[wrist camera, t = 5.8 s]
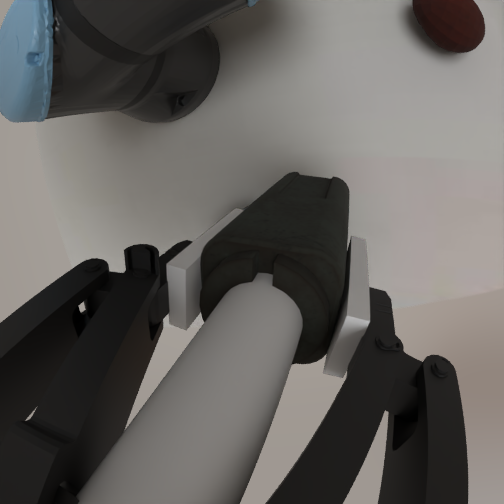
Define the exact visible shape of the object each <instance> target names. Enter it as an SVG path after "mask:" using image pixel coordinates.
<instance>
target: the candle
mask: <svg viewBox="0 0 504 504" xmlns="http://www.w3.org/2000/svg"><path fill="white" fill-rule="evenodd" d="M348 219H349V189H348V186H347V184H346V183H345V182H344V181H343V180H342V179H340V178H337V177H332V179H328V178H321V177H313V176H304V175H300V174H299V173H298V172H292V173H289V174H287V175H285V176H284V177H283V178H282V179H281V180H279V181H278V182H277V183H276V184H275V185H273V186H272V187H271V188H270V189H269V190H267V191H266V192H265V193H264V194H263V195H261V196H260V197H259V198H258V199H257V200H256V201H254V202H253V203H252V204H251V205H250V206H248V207H247V208H246V209H245V210H244V211H243V212H241V213H240V214H239V215H238V216H237V217H236V218H235V219H233V220H232V221H231V222H230V223H229V224H228V225H226V226H225V227H224V228H223V229H222V230H221V231H220V232H218V233H217V234H216V235H215V236H214V237H213V238H212V239H210V240H209V241H208V242H207V244H206V245H205V246H204V248H203V250H202V253H201V261H200V267H201V281H202V289H201V291H200V303H199V306H200V310H201V314H202V319H203V320H204V322H205V323H204V324H203V325H202V327H201V328H200V329H199V331H198V332H197V334H196V335H195V336H194V338H193V339H192V340H191V342H190V343H189V344H188V346H187V347H186V348H185V350H184V351H183V352H182V354H181V355H180V357H179V358H178V359H177V361H176V362H175V363H174V365H173V366H172V368H171V369H170V370H169V372H168V373H167V375H166V376H165V377H164V378H163V380H162V381H161V382H160V384H159V385H158V387H157V388H156V389H155V391H154V392H153V393H152V395H151V396H150V397H149V399H148V400H147V401H146V403H145V404H144V405H143V407H142V408H141V410H140V411H139V412H138V414H137V415H136V416H135V418H134V419H133V420H132V422H131V423H130V424H129V426H128V427H127V428H126V430H125V431H124V432H123V434H122V435H121V436H120V438H119V439H118V441H117V442H116V443H115V445H114V446H113V447H112V449H111V450H110V451H109V453H108V454H107V455H106V457H105V458H104V459H103V461H102V462H101V463H100V465H99V466H98V467H97V469H96V470H95V471H94V473H93V474H92V476H91V477H90V478H89V480H88V481H87V482H86V484H85V485H84V486H83V488H82V489H81V490H80V492H79V493H78V494H77V496H76V498H77V499H78V500H79V503H78V504H240V502H241V499H242V497H243V495H244V492H245V490H246V488H247V485H248V483H249V481H250V478H251V476H252V473H253V471H254V468H255V466H256V463H257V460H258V458H259V455H260V453H261V450H262V448H263V445H264V443H265V440H266V437H267V434H268V432H269V429H270V426H271V424H272V421H273V418H274V415H275V412H276V409H277V407H278V404H279V401H280V398H281V395H282V392H283V389H284V386H285V383H286V380H287V377H288V374H289V370H290V368H291V365H292V364H296V363H297V364H310V363H313V362H317V361H318V360H320V359H322V358H323V357H324V356H325V355H326V354H327V351H328V349H329V346H330V343H331V340H332V336H333V332H334V328H335V324H336V320H337V316H338V311H339V307H340V302H341V298H342V293H343V289H344V280H345V268H346V255H347V239H348Z"/></svg>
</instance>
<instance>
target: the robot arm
mask: <svg viewBox="0 0 504 504" xmlns="http://www.w3.org/2000/svg"><path fill="white" fill-rule="evenodd" d="M257 1H259V0H15V1H14V2H13V4H12V5H11V7H10V9H9V10H8V12H7V14H6V17H5V19H4V21H3V24H2V26H1V29H0V112H1V114H2V115H3V116H5V118H7V119H8V120H9V121H11V122H32V121H37V122H41V121H44V120H45V119H49V118H56V117H62V116H69V115H77V114H85V113H95V112H105V111H120V112H122V113H125V114H127V115H129V116H131V117H134V118H136V119H138V120H141V121H146V122H168V121H173V120H176V119H179V118H181V117H184V116H186V115H187V114H189V113H190V112H192V111H193V110H194V109H196V108H197V107H198V106H199V105H200V104H201V103H202V102H203V100H204V99H205V98H206V97H207V95H208V94H209V92H210V90H211V89H212V87H213V85H214V82H215V80H216V77H217V73H218V69H219V58H220V57H219V48H218V44H217V41H216V39H215V37H214V35H213V33H212V32H211V30H210V29H209V28H208V27H207V25H208V24H210V23H212V22H214V21H216V20H218V19H220V18H222V17H224V16H226V15H229V14H231V13H233V12H235V11H237V10H239V9H242V8H244V7H246V6H248V7H251V6H253V5H255V4H256V2H257ZM243 211H244V210H242V209H238V208H235V209H234V210H233V211H231V212H230V213H229V214H227V215H226V216H225V217H224V218H222V219H221V220H220V221H219V222H217V223H216V224H215V225H214V226H212V227H211V228H210V229H209V230H207V231H206V232H205V233H204V234H202V235H201V236H200V237H199V238H197V239H196V240H195V241H194V242H192V241H188V240H185V241H182V242H180V243H177V244H176V245H174V246H173V247H172V248H170V249H169V250H168V251H166V252H165V254H163V255H161V256H160V257H159V251H158V249H157V248H156V247H154V246H152V245H148V244H138V245H133V246H130V247H128V248H126V249H125V250H124V255H125V265H126V271H125V272H124V273H118V272H109V266H108V263H107V262H106V261H105V260H103V259H98V258H95V259H94V258H93V259H89V260H86V261H84V262H82V263H80V264H79V265H77V266H76V267H74V268H73V269H71V270H70V271H68V272H67V273H66V274H64V275H63V276H61V277H60V278H59V279H57V280H56V281H55V282H53V283H52V284H50V285H49V286H48V287H46V288H45V289H43V290H42V291H41V292H40V293H38V294H37V295H35V296H34V297H33V298H31V299H30V300H29V301H28V302H26V303H25V304H24V305H22V306H21V307H20V308H18V309H17V310H16V311H15V312H13V313H12V314H11V315H10V316H8V317H7V318H6V319H5V320H3V321H2V322H1V323H0V504H78V503H79V500H78V499H77V498H76V496H77V494H78V493H79V492H80V490H81V489H82V488H83V486H84V485H85V484H86V482H87V481H88V480H89V478H90V477H91V476H92V474H93V473H94V471H95V470H96V469H97V467H98V466H99V465H100V463H101V462H102V461H103V459H104V458H105V457H106V455H107V454H108V453H109V451H110V450H111V449H112V447H113V446H114V445H115V443H116V442H117V441H118V439H119V438H120V436H121V435H122V434H123V432H124V430H125V427H126V424H127V421H128V418H129V416H130V413H131V410H132V407H133V404H134V402H135V399H136V396H137V394H138V391H139V388H140V385H141V383H142V380H143V378H144V375H145V373H146V370H147V367H148V365H149V362H150V360H151V357H152V355H153V352H154V350H155V347H156V344H157V342H158V340H159V337H160V335H161V332H162V330H163V319H164V317H165V316H166V315H167V314H168V313H169V324H171V325H174V326H176V327H179V328H181V329H184V330H187V329H188V328H189V326H190V325H191V324H192V323H193V321H194V320H195V319H196V317H197V316H198V315H199V314H200V312H201V310H200V306H199V303H200V291H201V289H202V281H201V267H200V261H201V253H202V250H203V248H204V246H205V245H206V244H207V242H208V241H209V240H210V239H212V238H213V237H214V236H215V235H216V234H217V233H218V232H220V231H221V230H222V229H223V228H224V227H225V226H226V225H228V224H229V223H230V222H231V221H232V220H233V219H235V218H236V217H237V216H238V215H239V214H240V213H241V212H243ZM83 301H84V305H85V309H86V310H85V311H84V312H82V313H81V312H80V310H79V307H78V305H80V304H81V303H82V302H83ZM392 313H393V312H392V304H391V299H390V297H389V296H388V294H387V293H386V291H382V290H378V289H374V288H371V287H369V275H368V259H367V246H366V239H362V238H358V237H354V236H351V240H350V243H349V247H348V250H347V255H346V268H345V280H344V289H343V293H342V298H341V302H340V307H339V311H338V316H337V320H336V324H335V328H334V332H333V336H332V340H331V343H330V346H329V349H328V351H327V355H326V361H325V366H324V371H323V373H324V374H328V375H332V376H337V377H341V378H343V377H344V375H345V373H346V371H347V378H346V380H345V381H344V383H343V385H342V387H341V389H340V391H339V392H338V394H337V396H336V398H335V400H334V402H333V403H332V405H331V407H330V409H329V410H328V412H327V414H326V416H325V417H324V419H323V421H322V422H321V424H320V426H319V427H318V429H317V431H316V432H315V434H314V435H313V437H312V439H311V440H310V442H309V443H308V445H307V447H306V448H305V450H304V451H303V452H302V454H301V456H300V457H299V458H298V460H297V462H296V463H295V464H294V466H293V467H292V469H291V470H290V471H289V473H288V474H287V476H286V477H285V478H284V480H283V481H282V483H281V484H280V485H279V487H278V488H277V489H276V491H275V492H274V493H273V494H272V496H271V497H270V498H269V500H268V501H267V502H266V504H343V502H344V500H345V498H346V497H347V494H348V493H349V491H350V488H351V487H352V485H353V483H354V481H355V479H356V477H357V475H358V473H359V471H360V469H361V467H362V465H363V463H364V460H365V458H366V456H367V453H368V451H369V449H370V447H371V444H372V442H373V440H374V437H375V435H376V432H377V430H378V427H379V425H380V422H381V420H382V417H383V414H384V411H385V410H386V411H388V412H389V415H388V430H387V441H386V451H385V460H384V468H383V475H382V482H381V489H380V495H379V500H378V504H468V463H467V461H468V460H467V445H466V435H465V426H464V417H463V410H462V403H461V397H460V391H459V385H458V380H457V376H456V371H455V368H454V366H453V365H452V364H451V363H450V361H448V360H447V359H446V358H444V357H441V356H439V355H430V356H427V357H426V358H425V360H424V361H423V362H421V361H419V360H417V359H415V358H413V357H411V356H409V355H408V354H406V353H405V352H404V351H403V344H402V342H401V340H400V339H399V338H398V337H397V336H396V335H395V328H394V320H393V315H392ZM37 406H38V407H37ZM36 407H37V408H36ZM35 408H36V410H35ZM34 410H35V412H34V414H33V416H32V417H31V419H29V420H27V421H25V420H26V419H27V417H28V416H29V415H30V414H31V413H32V412H33V411H34Z"/></svg>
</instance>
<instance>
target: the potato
mask: <svg viewBox="0 0 504 504" xmlns="http://www.w3.org/2000/svg"><path fill="white" fill-rule="evenodd" d="M413 11H414V13H415V15H416V17H417V20H418V22H419V23H420V25H421V26H422V28H423V29H424V31H425V32H426V34H427V35H428V36H429V37H430V38H431V39H432V40H433V41H434V42H435V43H436V44H437V45H438V46H439V47H441V48H443V49H446V50H448V51H452V52H457V53H464V52H469V51H471V50H473V49H475V48H476V47H477V46H478V45H479V44H480V43H481V42H482V40H483V38H484V35H485V24H484V18H483V15H482V13H481V11H480V9H479V7H478V6H477V4H476V3H475V2H474V1H473V0H413Z"/></svg>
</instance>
